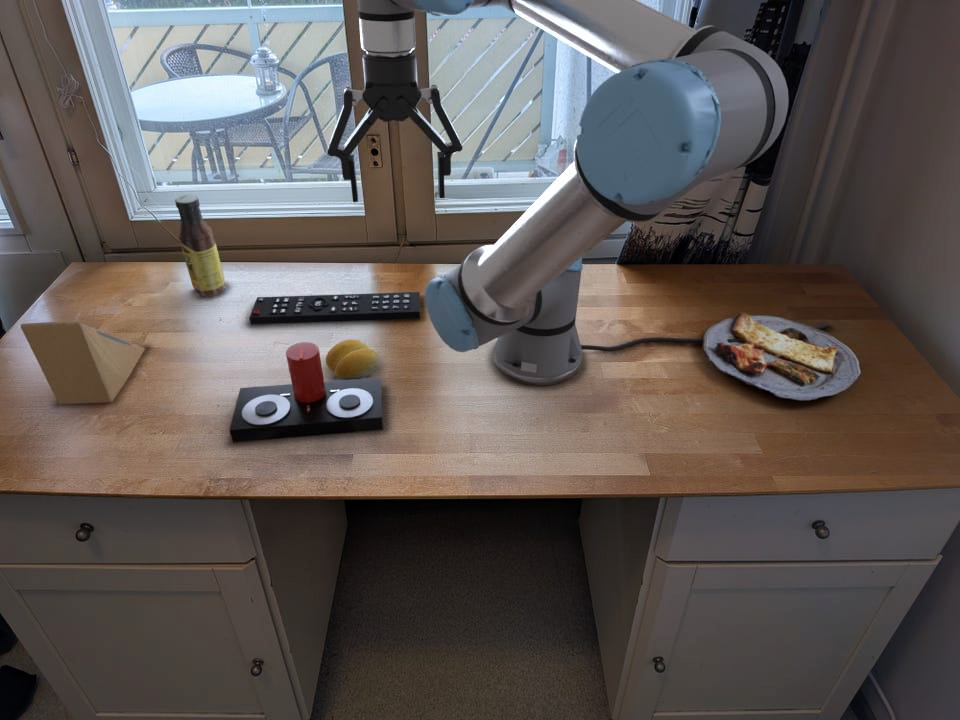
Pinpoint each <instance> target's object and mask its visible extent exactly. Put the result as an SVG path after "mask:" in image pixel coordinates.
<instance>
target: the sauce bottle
mask: <svg viewBox="0 0 960 720" xmlns="http://www.w3.org/2000/svg"><path fill="white" fill-rule="evenodd" d="M174 203H175V207H176V208H177V211H178V214H179V218H180V230H179V236H178V237H179V238H178V240H179V243H180V247H181V251H182V254H183V258H184V262H185V265H186V268H187V271H188V275H189V279H190V282H191V285H192V288H193V290H194V292H195V293H196V294H197V295H198V296H200V297H212V296H217V295H219V294H221V293H223V292H224V290H225V289H226V280H225V279H226V278H225V274H224V271H223V266H222V263H221V262H222V261H221V257H220V255H219V250H218V246H217V243H216V240H215V238H214V237H215V236H214V232H213V230H212V227H211V226H210V224H208V223H207V222H206V221H205V220H204V219H203V215H202V212H201V209H200V200H199V197H198V196H197V195H196V194H183V195H179V196H178V197H176V198H175V199H174Z"/></svg>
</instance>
